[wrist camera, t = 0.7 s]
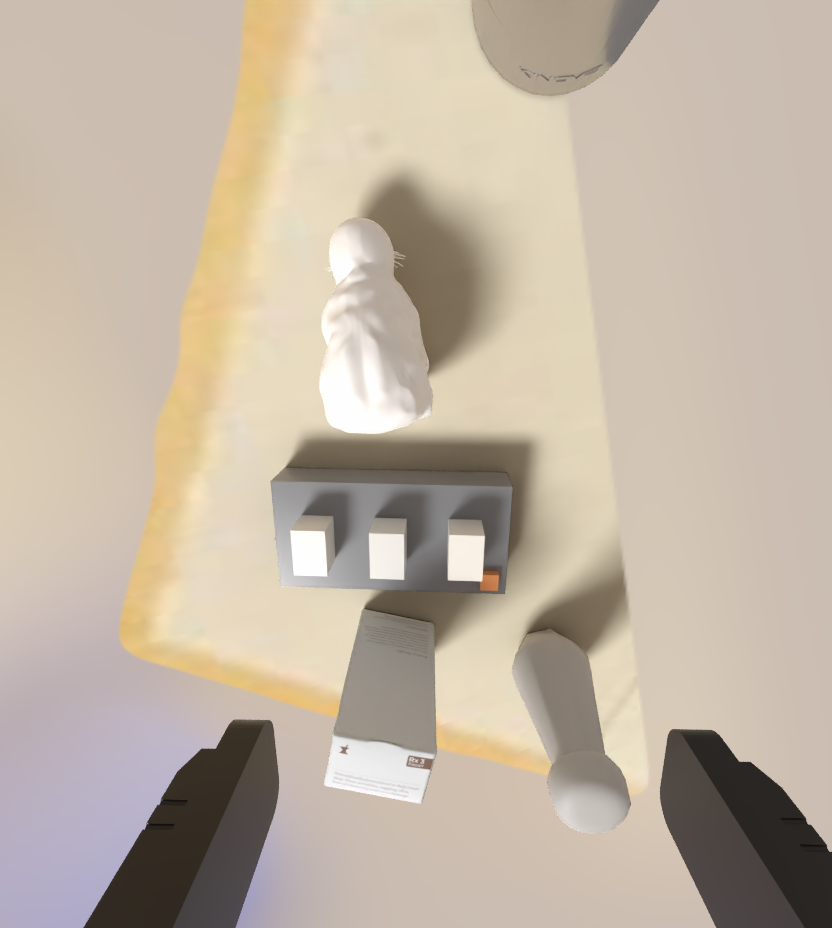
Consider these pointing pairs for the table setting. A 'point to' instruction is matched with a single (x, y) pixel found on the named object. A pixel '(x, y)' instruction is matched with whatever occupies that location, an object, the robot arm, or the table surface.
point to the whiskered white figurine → (371, 337)
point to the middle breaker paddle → (388, 548)
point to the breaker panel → (393, 496)
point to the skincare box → (387, 710)
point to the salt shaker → (570, 732)
